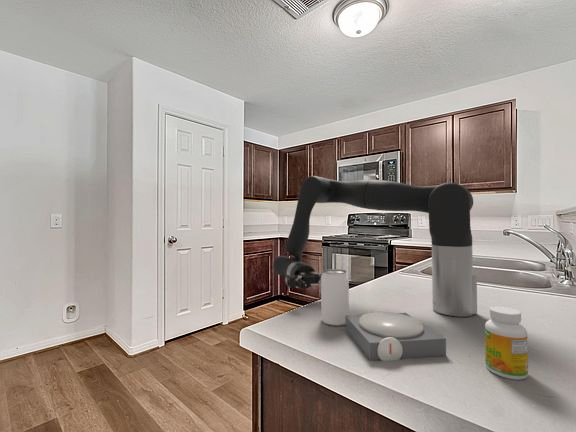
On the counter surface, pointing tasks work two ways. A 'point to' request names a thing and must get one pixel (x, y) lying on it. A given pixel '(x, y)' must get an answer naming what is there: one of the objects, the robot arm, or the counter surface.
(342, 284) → the can
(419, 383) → the counter surface
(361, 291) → the counter surface
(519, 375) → the supplement bottle
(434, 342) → the scale
